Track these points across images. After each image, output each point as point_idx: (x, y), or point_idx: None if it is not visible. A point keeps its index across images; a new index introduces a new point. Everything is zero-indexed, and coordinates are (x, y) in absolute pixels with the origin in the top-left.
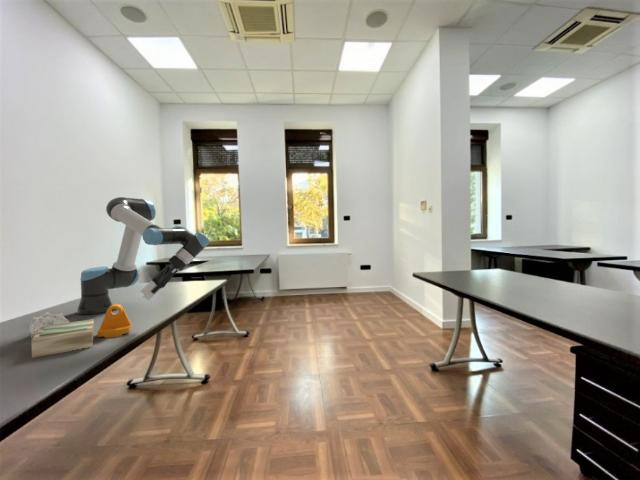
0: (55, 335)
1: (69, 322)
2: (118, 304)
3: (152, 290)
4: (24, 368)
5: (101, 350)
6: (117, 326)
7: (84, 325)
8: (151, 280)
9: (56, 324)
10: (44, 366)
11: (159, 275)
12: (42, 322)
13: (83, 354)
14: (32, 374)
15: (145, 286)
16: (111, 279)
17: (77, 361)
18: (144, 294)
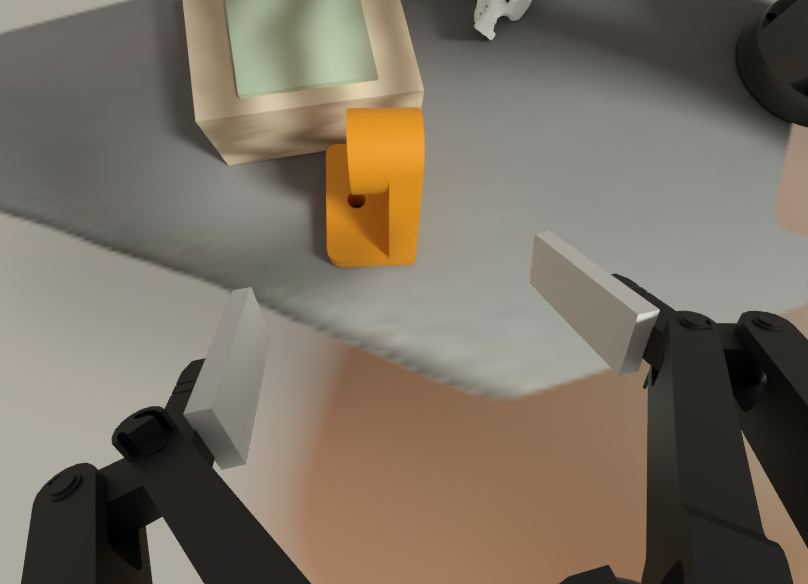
0: (202, 13)
1: (484, 16)
2: (408, 143)
3: (185, 375)
4: (117, 35)
5: (163, 204)
6: (386, 206)
7: (295, 75)
8: (650, 310)
9: None
10: (99, 78)
11: (672, 443)
12: None
13: (153, 156)
14: (43, 68)
15: (571, 262)
16: None
17: (84, 155)
18: (530, 276)
